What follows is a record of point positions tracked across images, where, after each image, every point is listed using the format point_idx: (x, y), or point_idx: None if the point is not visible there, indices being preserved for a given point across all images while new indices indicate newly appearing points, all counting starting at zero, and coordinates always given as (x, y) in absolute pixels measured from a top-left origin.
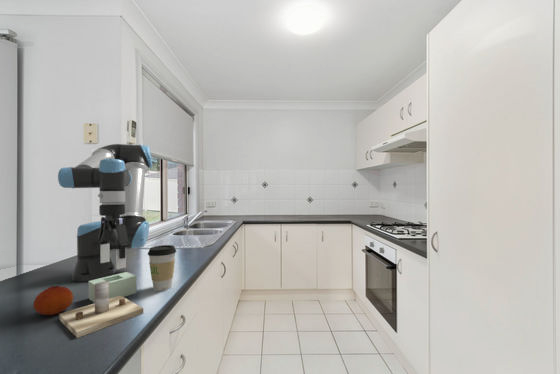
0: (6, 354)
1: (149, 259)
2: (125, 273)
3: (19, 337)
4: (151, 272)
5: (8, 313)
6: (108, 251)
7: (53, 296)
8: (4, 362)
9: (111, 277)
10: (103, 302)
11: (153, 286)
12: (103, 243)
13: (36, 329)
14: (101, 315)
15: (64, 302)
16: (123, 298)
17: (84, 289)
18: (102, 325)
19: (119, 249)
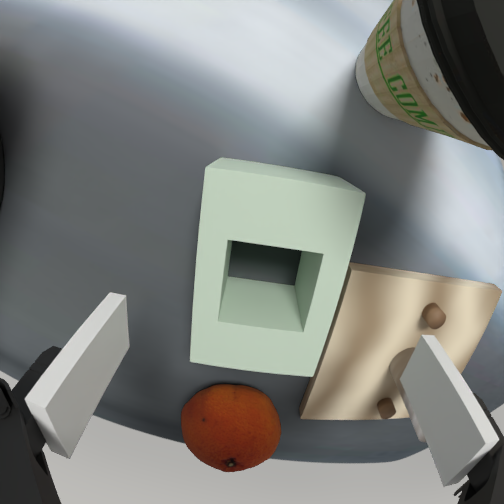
0: (356, 462)
1: (457, 121)
2: (237, 193)
3: (311, 451)
4: (432, 130)
5: (134, 425)
6: (86, 358)
7: (269, 457)
8: (378, 462)
9: (223, 275)
10: None
11: (391, 116)
12: (39, 441)
13: (305, 436)
14: None
15: (279, 421)
16: (436, 314)
17: (73, 265)
18: None
19: (470, 469)
